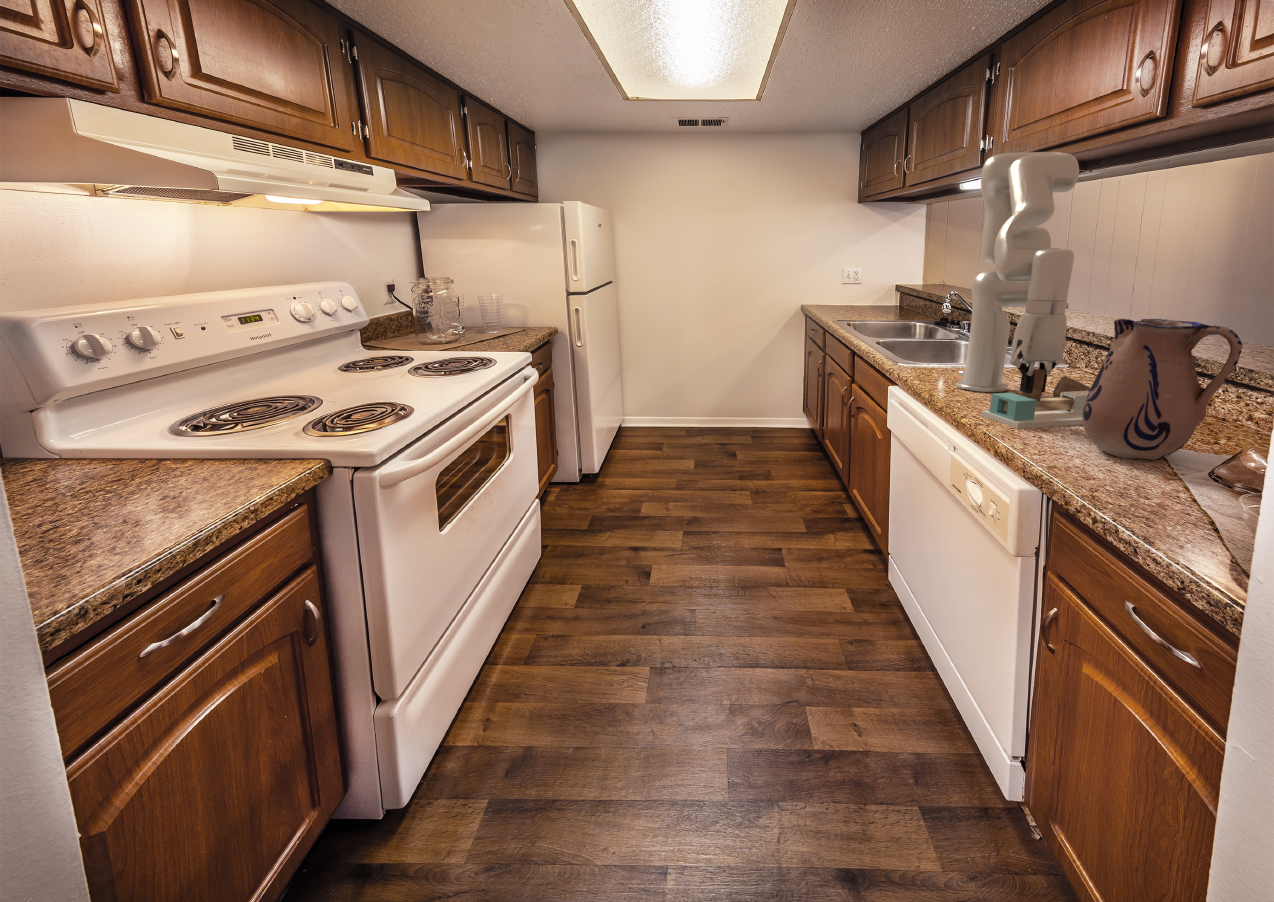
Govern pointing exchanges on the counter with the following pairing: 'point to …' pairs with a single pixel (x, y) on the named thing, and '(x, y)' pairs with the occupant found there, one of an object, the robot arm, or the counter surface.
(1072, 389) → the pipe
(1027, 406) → the socket block
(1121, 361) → the ceramic pitcher
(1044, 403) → the tan wooden l-shaped piece
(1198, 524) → the counter surface
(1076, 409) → the sleeve
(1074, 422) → the base board
